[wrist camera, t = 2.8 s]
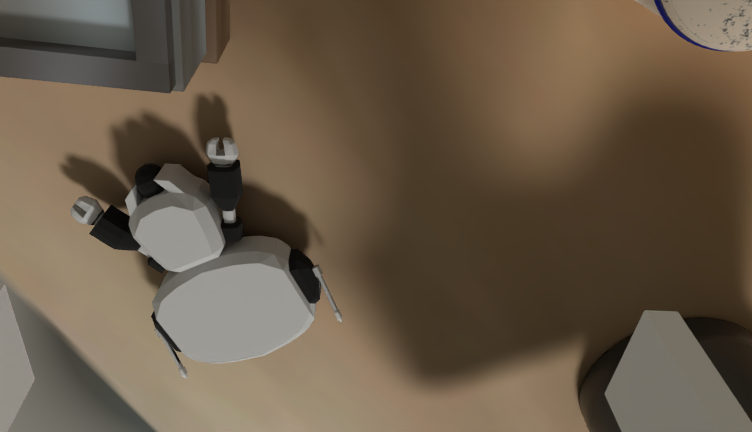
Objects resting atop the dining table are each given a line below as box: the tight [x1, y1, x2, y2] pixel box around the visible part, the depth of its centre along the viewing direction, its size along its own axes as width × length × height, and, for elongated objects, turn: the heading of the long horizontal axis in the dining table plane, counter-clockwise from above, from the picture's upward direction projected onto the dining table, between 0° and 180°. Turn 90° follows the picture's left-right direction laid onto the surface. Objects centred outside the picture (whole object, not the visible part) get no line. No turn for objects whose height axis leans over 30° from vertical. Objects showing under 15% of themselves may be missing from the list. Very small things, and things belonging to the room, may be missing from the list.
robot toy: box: [70, 137, 342, 378], centre depth 39 cm, size 12×4×15 cm
